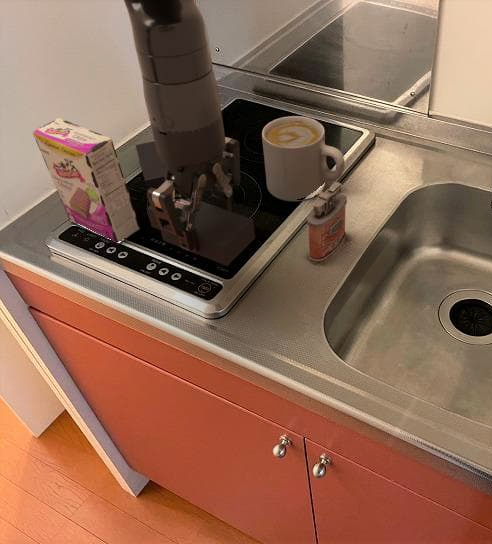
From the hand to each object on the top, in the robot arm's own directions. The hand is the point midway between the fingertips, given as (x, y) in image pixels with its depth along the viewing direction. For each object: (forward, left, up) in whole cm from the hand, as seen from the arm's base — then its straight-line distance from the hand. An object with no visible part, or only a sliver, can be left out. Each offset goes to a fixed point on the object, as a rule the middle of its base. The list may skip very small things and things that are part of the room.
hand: (208, 234), depth 72 cm
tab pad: (-1, +1, -1) cm, 2 cm away
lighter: (+17, +3, -11) cm, 20 cm away
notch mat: (0, +33, -10) cm, 34 cm away
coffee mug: (+19, +19, -11) cm, 29 cm away
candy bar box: (-14, +21, -11) cm, 27 cm away
